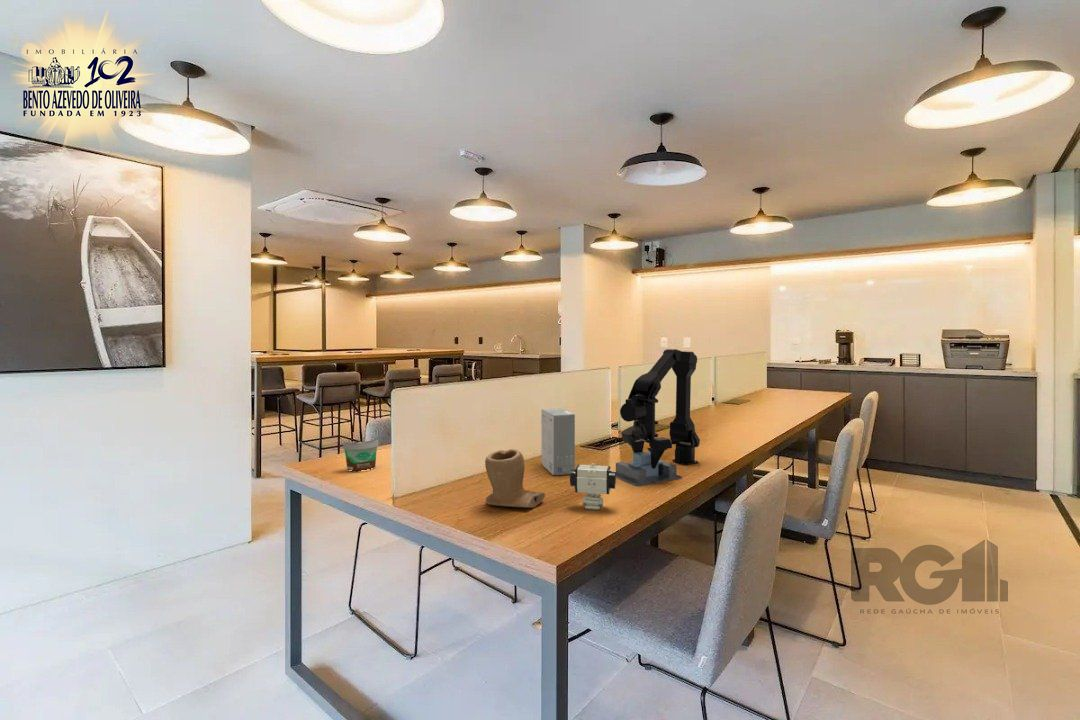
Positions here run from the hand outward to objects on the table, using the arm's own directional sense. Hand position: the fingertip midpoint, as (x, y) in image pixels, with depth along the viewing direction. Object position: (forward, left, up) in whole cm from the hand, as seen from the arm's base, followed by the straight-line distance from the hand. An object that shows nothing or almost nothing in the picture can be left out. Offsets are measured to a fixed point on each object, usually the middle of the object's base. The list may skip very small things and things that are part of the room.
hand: (645, 465), depth 161 cm
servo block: (0, 0, -3) cm, 3 cm away
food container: (+80, -51, -4) cm, 95 cm away
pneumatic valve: (+31, +17, -4) cm, 36 cm away
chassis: (0, 0, -4) cm, 4 cm away
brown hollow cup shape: (+49, +5, -4) cm, 49 cm away
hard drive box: (+21, -21, -4) cm, 30 cm away
